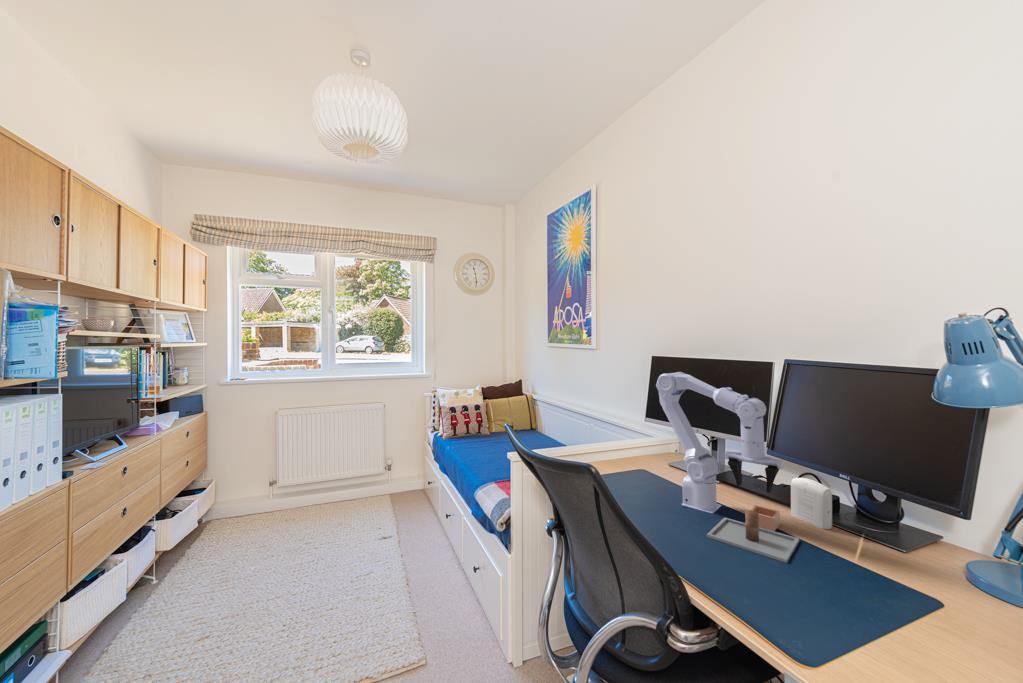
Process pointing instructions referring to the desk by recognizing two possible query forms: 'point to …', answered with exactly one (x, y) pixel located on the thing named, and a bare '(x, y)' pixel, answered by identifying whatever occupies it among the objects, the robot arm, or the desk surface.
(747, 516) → the pin
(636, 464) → the desk surface
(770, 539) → the tray
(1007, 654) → the desk surface
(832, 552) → the desk surface
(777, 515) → the tan open box
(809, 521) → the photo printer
